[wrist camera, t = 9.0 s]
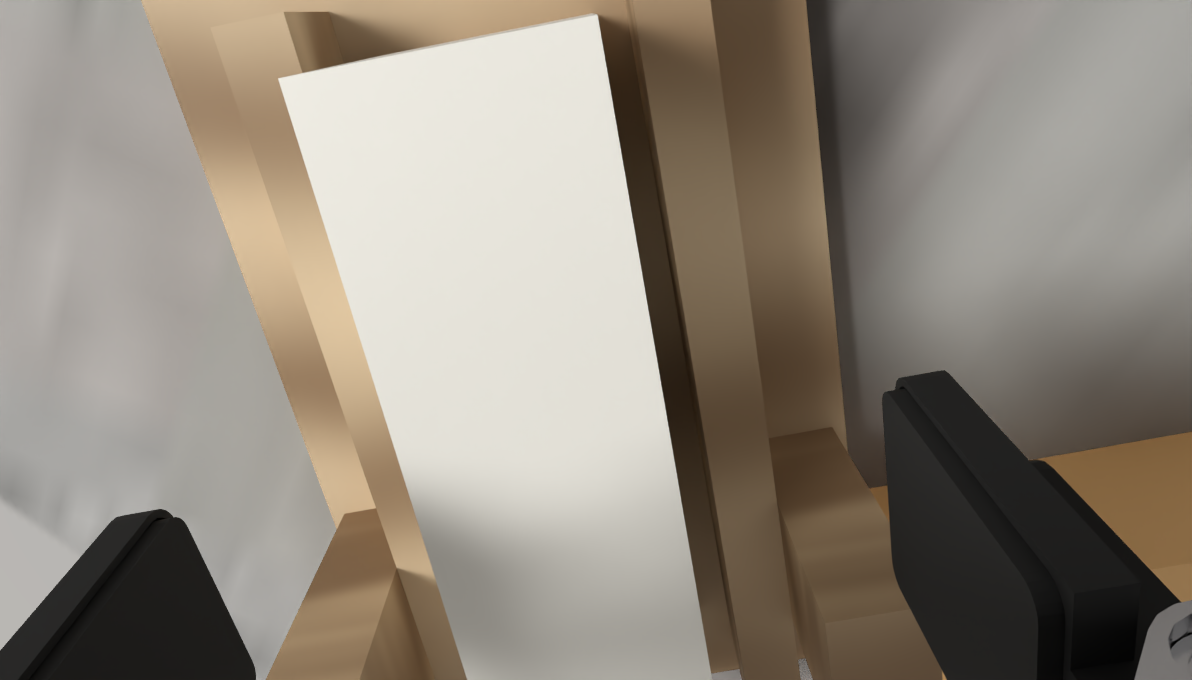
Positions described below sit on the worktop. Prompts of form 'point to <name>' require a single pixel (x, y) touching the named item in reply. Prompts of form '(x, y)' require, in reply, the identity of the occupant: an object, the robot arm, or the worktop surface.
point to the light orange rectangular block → (1135, 500)
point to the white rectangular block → (511, 345)
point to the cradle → (675, 303)
